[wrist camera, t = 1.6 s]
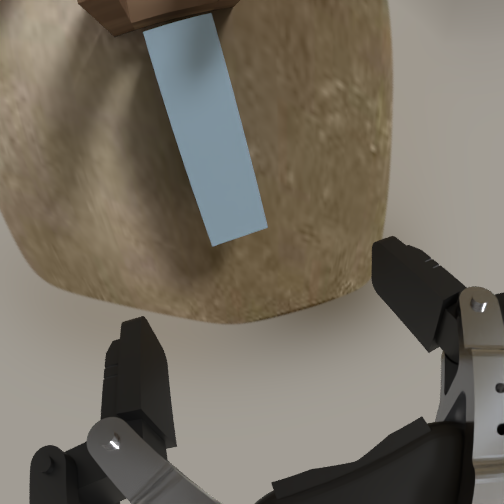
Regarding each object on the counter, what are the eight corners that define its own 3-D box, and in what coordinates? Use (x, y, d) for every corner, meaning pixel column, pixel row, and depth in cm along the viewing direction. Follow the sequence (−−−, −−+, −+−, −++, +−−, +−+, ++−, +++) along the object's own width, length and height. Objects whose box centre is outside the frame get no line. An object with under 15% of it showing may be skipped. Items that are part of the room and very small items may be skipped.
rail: (148, 45, 14) (142, 32, 10) (200, 29, 14) (211, 12, 11) (202, 213, 20) (212, 246, 16) (246, 197, 20) (267, 227, 17)
